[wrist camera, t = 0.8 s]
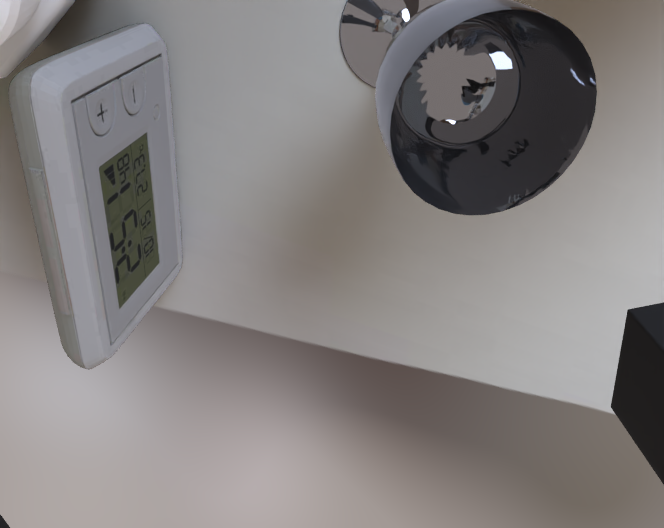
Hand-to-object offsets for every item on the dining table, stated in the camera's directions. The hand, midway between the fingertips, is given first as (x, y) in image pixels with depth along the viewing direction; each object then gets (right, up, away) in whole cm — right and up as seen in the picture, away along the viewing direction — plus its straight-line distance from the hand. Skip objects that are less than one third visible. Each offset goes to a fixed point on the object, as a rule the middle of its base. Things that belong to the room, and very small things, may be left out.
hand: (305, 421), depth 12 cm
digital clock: (-12, +10, +25) cm, 29 cm away
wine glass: (+4, +17, +23) cm, 29 cm away
